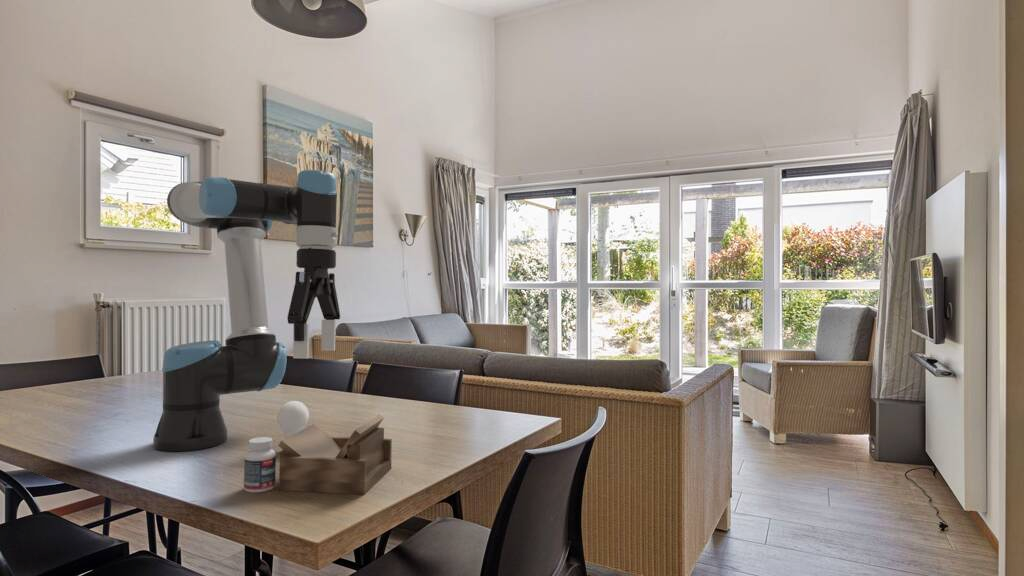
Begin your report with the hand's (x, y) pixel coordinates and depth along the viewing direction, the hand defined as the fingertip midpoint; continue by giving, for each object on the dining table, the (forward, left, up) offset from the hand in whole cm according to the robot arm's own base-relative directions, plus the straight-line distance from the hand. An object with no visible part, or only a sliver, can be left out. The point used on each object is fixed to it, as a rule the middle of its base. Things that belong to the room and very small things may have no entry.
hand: (315, 354), depth 116 cm
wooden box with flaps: (+7, -4, -23) cm, 25 cm away
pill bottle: (-5, -11, -24) cm, 27 cm away
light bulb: (-11, +13, -24) cm, 29 cm away
